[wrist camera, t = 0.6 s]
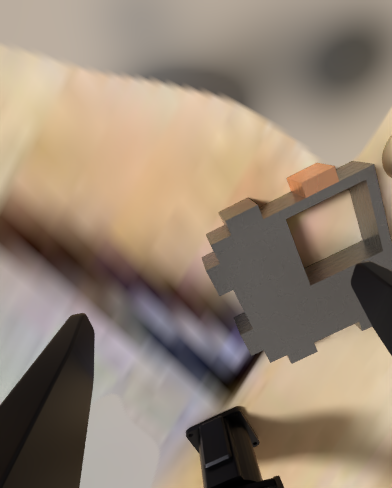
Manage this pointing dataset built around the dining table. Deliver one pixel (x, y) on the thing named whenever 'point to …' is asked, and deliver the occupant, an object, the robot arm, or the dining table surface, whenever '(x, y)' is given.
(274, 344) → the pixel heart plate
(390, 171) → the pin
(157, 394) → the dining table surface
